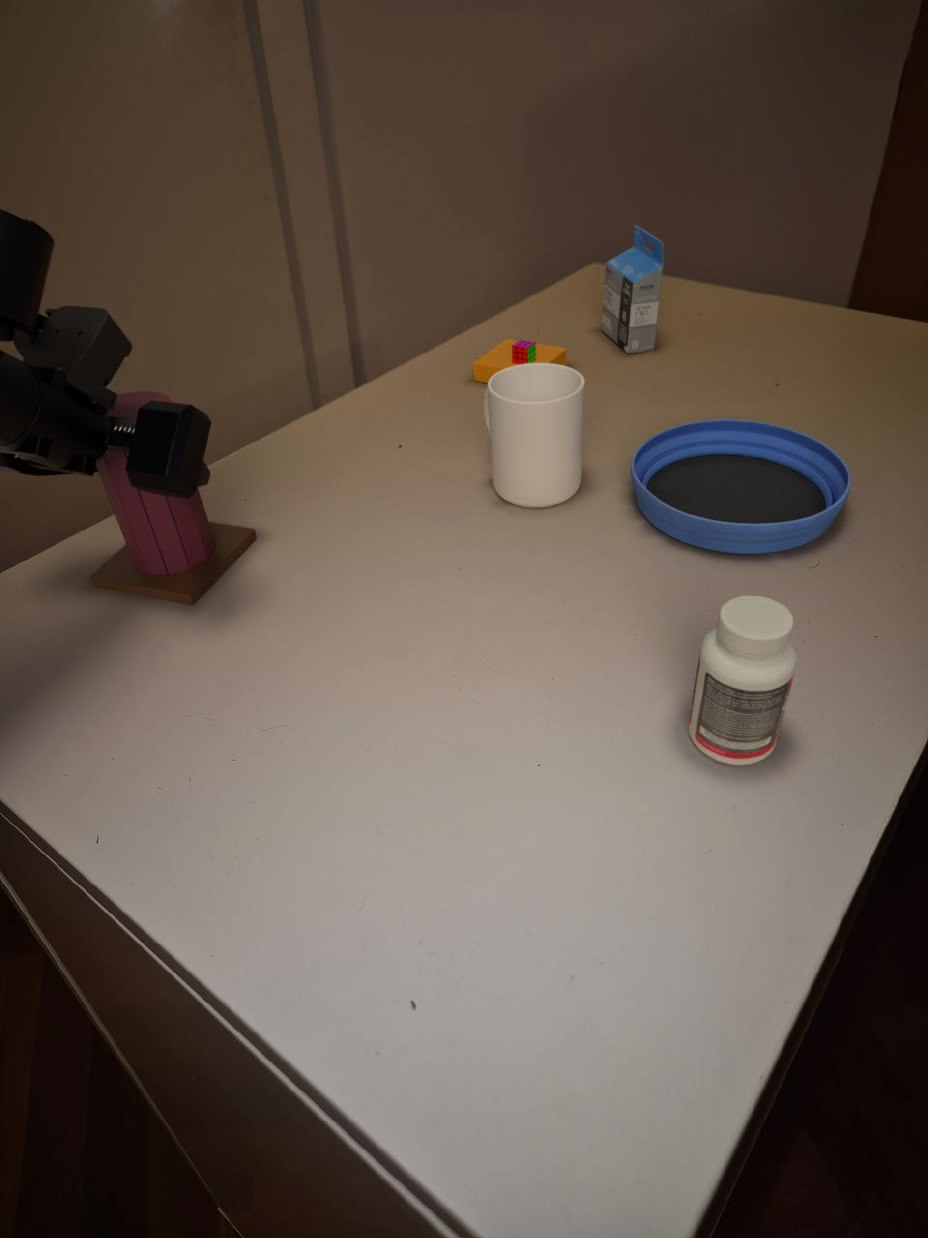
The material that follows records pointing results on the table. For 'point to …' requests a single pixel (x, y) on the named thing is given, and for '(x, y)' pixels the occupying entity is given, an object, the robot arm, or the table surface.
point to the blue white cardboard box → (633, 294)
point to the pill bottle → (743, 681)
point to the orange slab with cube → (516, 357)
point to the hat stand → (181, 584)
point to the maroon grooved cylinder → (153, 509)
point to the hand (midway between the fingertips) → (159, 471)
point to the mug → (535, 433)
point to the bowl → (739, 485)
